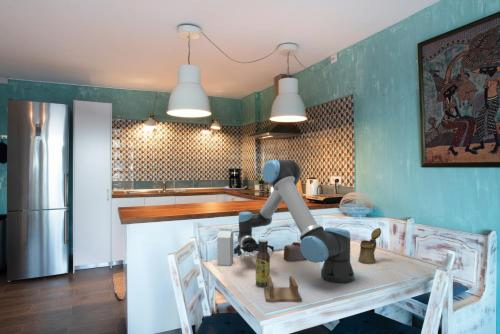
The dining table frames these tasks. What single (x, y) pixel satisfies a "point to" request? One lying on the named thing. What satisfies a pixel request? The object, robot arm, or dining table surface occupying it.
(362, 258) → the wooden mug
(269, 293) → the walnut slotted rack
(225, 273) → the dining table surface
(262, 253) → the sauce bottle
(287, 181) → the robot arm
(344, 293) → the dining table surface
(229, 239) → the milk carton
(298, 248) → the food item
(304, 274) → the dining table surface
